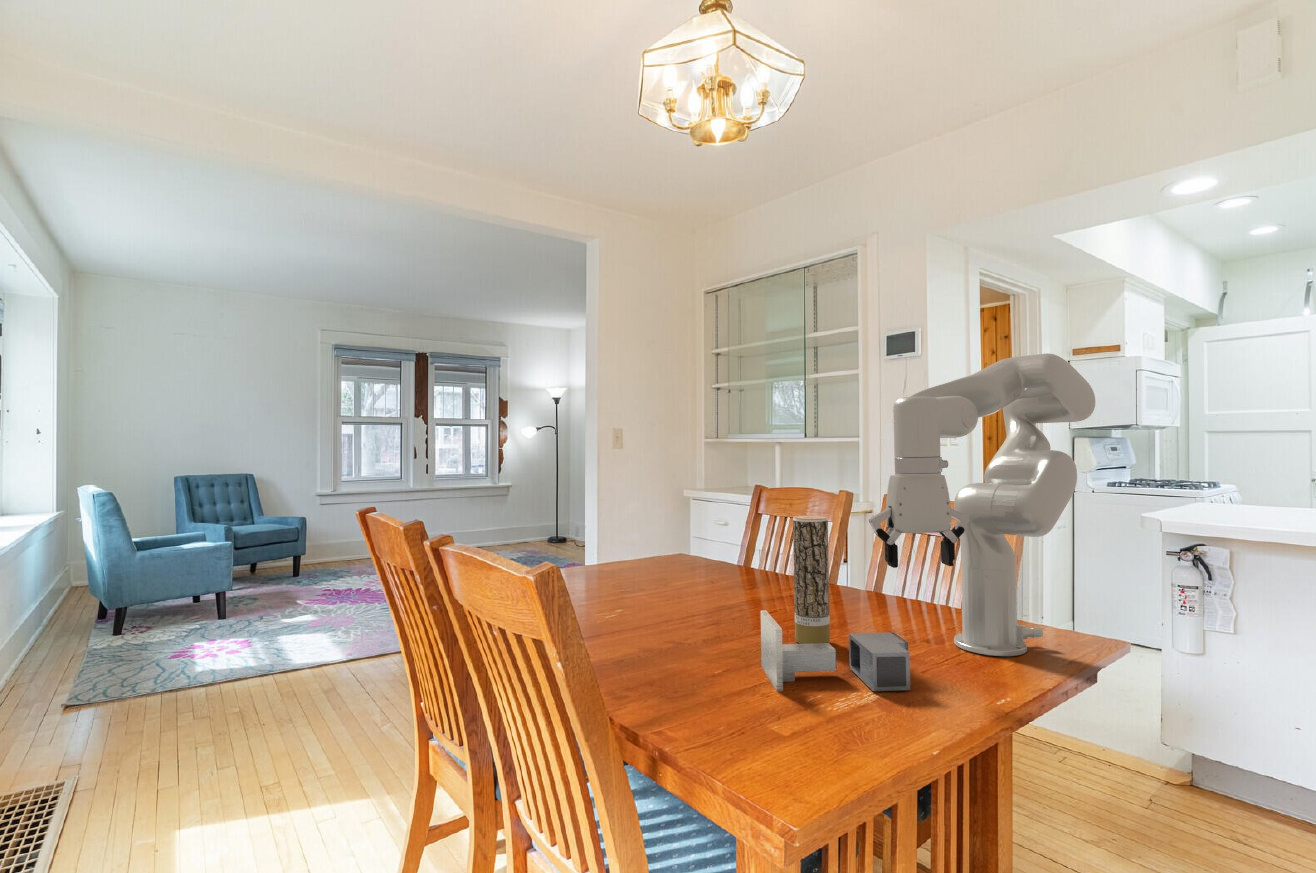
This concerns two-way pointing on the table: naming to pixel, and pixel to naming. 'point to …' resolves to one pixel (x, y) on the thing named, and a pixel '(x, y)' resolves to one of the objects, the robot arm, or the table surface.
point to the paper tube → (811, 579)
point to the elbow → (880, 660)
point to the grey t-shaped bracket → (791, 655)
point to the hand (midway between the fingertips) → (920, 565)
